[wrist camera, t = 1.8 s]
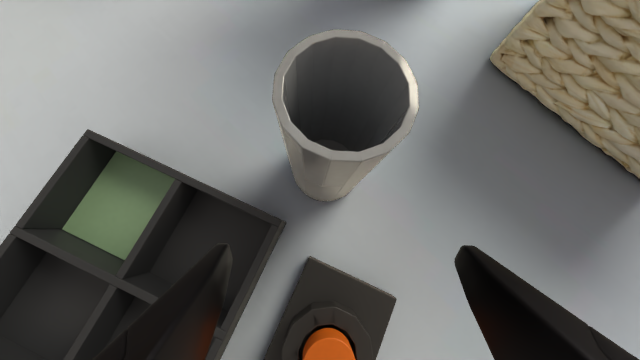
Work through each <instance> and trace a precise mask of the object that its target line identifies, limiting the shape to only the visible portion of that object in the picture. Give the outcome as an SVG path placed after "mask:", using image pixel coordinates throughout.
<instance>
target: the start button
mask: <svg viewBox="0 0 640 360" xmlns="http://www.w3.org/2000/svg"><path fill="white" fill-rule="evenodd" d="M302 360H355V357H354V354H353V351H352V348H351V346H350V343H349V341H348V339H347V338H346V337H345V335H344V334H342V333H341V332H340V331H338V330H336V329H333V328H323V329H320V330H317V331H316V332H314V333H313V334H312V335H311V336H310V337H309V338H308V340H307V341H306V343H305V346H304V349H303V359H302Z"/></svg>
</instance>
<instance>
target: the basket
mask: <svg viewBox="0 0 640 360" xmlns="http://www.w3.org/2000/svg"><path fill="white" fill-rule="evenodd" d="M490 60H491V62H492V63H493V64H494V65H495V66H496V67H497V68H498V69H500V70H501V72H503V73H504V74H505V75H507V76H508V77H509V78H510V79H512V80H514V81H515V82H517V83H518V84H520V86H521V87H522V88H523V89H524V90H527V91H529V92H530V93H531V94H532V95H534V96H535V97H536V98H537V99H538V100H539V101H540V102H541V103H542V104H543V105H545V106H546V107H547V108H549V109H550V110H552V111H553V112H555V113H557V114H558V115H559V116H561V117H562V119H563V120H564V121H565V122H568V123H569V124H570V125H572V126H573V127H574V128H575V129H576V130H577V131H578V132H579V133H580V134H581V135H582V136H583V137H584V138H585V139H586V140H588V141H589V142H590V143H592V144H593V145H595V146H597V147H599V148H601V149H602V151H604V153H606V154H607V155H610V156H612V157H613V158H614V159H616V160H617V161H618V162H619V163H621V164H622V165H623V166H624V167H625V168H626V170H627V171H629V172H630V173H633V174H634V175H636V176H637V177H638V178H639V179H640V0H539V2H537V3H536V4H535V5H534V6H533V7H532V9H531V10H530V11H529V12H528V13H527V14H526V15H525V16H524V17H523V19H522V21H521V22H519V23H518V24H517V25H516V26H515V27H514V28H513V29H512V30H511V32H510V34H509V35H508V36H507V37H506V38H505V39H504V40H503V41H502V42H501V43H500V46H498V47H497V48H496V49H495V50H494V51H493V53H492V54H491V56H490Z"/></svg>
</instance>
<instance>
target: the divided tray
mask: <svg viewBox="0 0 640 360" xmlns="http://www.w3.org/2000/svg"><path fill="white" fill-rule="evenodd" d="M83 135H84V136H82V137H81V138H80V140H79V141H78V142H77V144H76V145H75V146H74V148H73V149H72V150H71V152H70V153H69V154H68V156H67V157H66V158H65V160H64V161H63V162H62V164H61V165H60V166H59V168H58V169H57V170H56V172H55V173H54V174H53V176H52V177H51V178H50V180H49V181H48V182H47V184H46V185H45V186H44V188H43V189H42V190H41V192H40V193H39V195H38V196H37V197H36V199H35V200H34V201H33V203H32V204H31V205H30V207H29V208H28V209H27V211H26V212H25V213H24V215H23V216H22V217H21V219H20V220H19V221H18V223H17V224H16V226H15V227H14V228H13V229H12V231H11V232H10V234H9V235H8V236H7V237H6V239H5V240H4V241H3V243H2V244H1V245H0V360H92V359H93V358H94V357H95V356H97V355H98V354H99V353H100V352H101V351H102V350H103V349H104V348H105V347H106V346H108V345H109V344H110V343H111V342H112V341H113V340H114V339H115V338H116V337H117V336H118V335H120V334H121V333H122V332H123V331H124V330H125V329H127V328H128V326H129V325H130V324H131V323H132V322H134V321H135V320H136V319H137V318H138V317H139V316H140V315H141V314H142V313H143V312H144V311H145V310H146V309H147V308H149V307H150V306H151V305H152V304H153V303H154V302H155V301H156V300H157V299H158V298H159V297H160V296H161V295H162V294H163V293H165V292H166V291H167V290H168V289H169V288H170V287H171V286H172V285H173V284H174V283H175V282H176V281H177V280H178V279H180V278H181V277H182V276H183V275H184V274H185V273H186V272H187V271H188V270H189V269H190V268H191V267H192V266H193V265H195V264H196V263H197V262H198V261H199V260H200V259H201V258H202V257H203V256H204V255H205V254H206V253H207V252H208V251H209V250H211V249H212V248H213V247H214V246H215V245H216V244H218V243H227V244H229V246H230V249H231V254H232V258H233V262H232V267H231V272H230V277H229V281H228V286H227V291H226V295H225V300H224V304H223V307H222V310H221V314H220V317H219V320H218V323H217V326H216V329H215V332H214V335H213V338H212V341H211V344H210V347H209V350H208V353H207V356H206V359H205V360H220V359H221V356H222V354H223V352H224V350H225V348H226V346H227V344H228V342H229V340H230V338H231V336H232V334H233V332H234V330H235V327H236V325H237V323H238V321H239V319H240V317H241V315H242V313H243V311H244V309H245V307H246V305H247V303H248V301H249V298H250V296H251V294H252V292H253V290H254V288H255V286H256V284H257V282H258V280H259V278H260V276H261V274H262V272H263V269H264V267H265V265H266V263H267V261H268V259H269V257H270V255H271V253H272V251H273V249H274V247H275V245H276V243H277V240H278V238H279V236H280V234H281V232H282V230H283V228H284V226H285V224H286V222H285V221H283V220H281V219H278V218H276V217H274V216H272V215H270V214H268V213H266V212H264V211H261V210H259V209H257V208H255V207H253V206H251V205H249V204H246V203H244V202H242V201H240V200H238V199H236V198H234V197H232V196H229V195H227V194H225V193H223V192H221V191H219V190H217V189H215V188H212V187H210V186H208V185H206V184H204V183H202V182H200V181H197V180H195V179H193V178H191V177H189V176H187V175H185V174H183V173H180V172H178V171H176V170H174V169H172V168H170V167H168V166H165V165H163V164H161V163H159V162H157V161H155V160H153V159H151V158H148V157H146V156H144V155H142V154H140V153H138V152H136V151H134V150H131V149H129V148H127V147H125V146H123V145H121V144H119V143H116V142H114V141H112V140H110V139H108V138H106V137H104V136H101V135H99V134H97V133H95V132H93V131H91V130H88V129H87V130H86V132H85V133H84V134H83Z"/></svg>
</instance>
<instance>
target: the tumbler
mask: <svg viewBox="0 0 640 360" xmlns="http://www.w3.org/2000/svg"><path fill="white" fill-rule="evenodd" d="M272 102H273V105H274V109H275V113H276V116H277V120H278V123H279V127H280V131H281V134H282V138H283V141H284V145H285V148H286V152H287V156H288V159H289V163H290V166H291V170H292V173H293V176H294V179H295V182H296V184H297V186H298V187H299V188H300V190H301V191H302V192H303V193H304V194H306V195H307V196H309V197H311V198H313V199H315V200H319V201H334V200H337V199H340V198H342V197H344V196H346V195H347V194H348V193H349V192H350V191H351V190H352V189H353V188H354V187H355V186H356V185H357V184H358V183H359V182H360V181H361V180H362V179H363V178H364V177H365V176H366V175H367V174H368V173H369V172H370V171H371V170H372V169H373V168H374V167H375V166H376V165H378V164H379V163H380V162H381V161H382V160H383V159H384V158H385V157H386V156H387V155H388V154H389V153H390V152H391V151H392V150H393V149H394V148H395V147H396V146H397V145H398V144H399V143H400V142H401V141H402V140H403V139H404V138H405V137H406V136H407V135H408V134H409V132H410V130H411V128H412V125H413V123H414V120H415V118H416V115H417V113H418V110H419V100H418V84H417V81H416V79H415V77H414V75H413V73H412V71H411V69H410V67H409V65H408V63H407V61H406V60H405V58H403V57H402V56H401V55H400V54H399V53H398V52H397V51H396V50H395V49H393V48H392V47H391V46H390V45H389V44H388V43H387V42H385V41H383V40H381V39H378V38H376V37H374V36H371V35H369V34H367V33H364V32H360V31H352V30H337V29H335V30H329V31H326V32H322V33H319V34H315V35H311V36H309V37H307V38H305V39H304V40H303V41H301V42H300V43H299V44H297V45H296V46H295V47H293V48H292V49H291V50H289V51H288V52H287V53H286V55H285V57H284V59H283V60H282V62H281V64H280V66H279V67H278V69H277V71H276V72H275V75H274V84H273V95H272Z"/></svg>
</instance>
